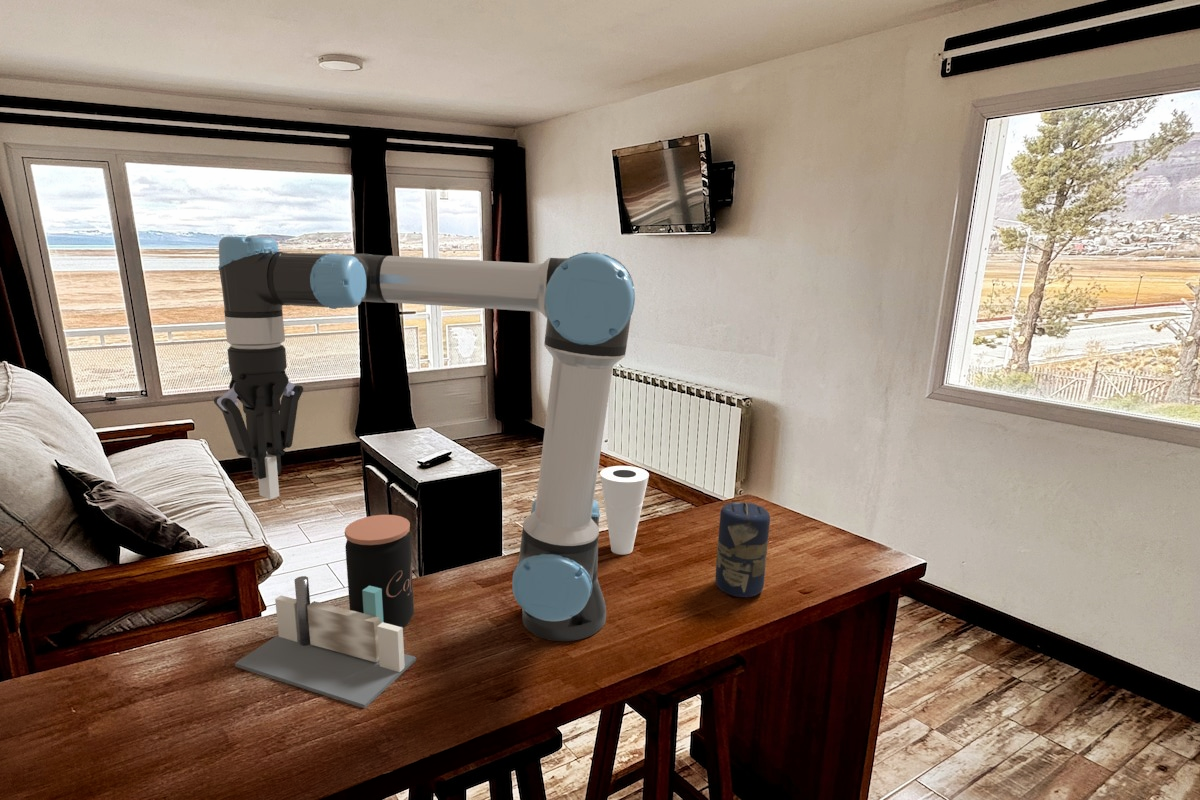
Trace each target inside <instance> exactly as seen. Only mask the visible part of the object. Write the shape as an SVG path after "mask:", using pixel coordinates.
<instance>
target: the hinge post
mask: <svg viewBox="0 0 1200 800" xmlns="http://www.w3.org/2000/svg"><path fill="white" fill-rule="evenodd" d="M294 589H295V599H296V603H297V614H298V625H299V636H300V644H301V645H303V646H306V645H310V634H309V622H308V610H307V606H308V605H309V604H311V596H310V585H309V577H308V576H306V575H304V576H303V575H302V576H298V577H295V579H294Z"/></svg>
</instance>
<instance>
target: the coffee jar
mask: <svg viewBox="0 0 1200 800" xmlns="http://www.w3.org/2000/svg"><path fill="white" fill-rule="evenodd" d="M410 527H411V523H410V521H409V520H408V519H407V518H405V517H403V516H400V515H395V514H377V515H370V516H364V517H362V518H359V519H355V521H352V522H351V523H349V524H348V525H347V526H346V527H345V530H344V537H345V538H346V543H345V560H346V561H345V562H346V563H345V564H346V575H347V586H348V587H347V589H348V591H347V592H348V603H349V605H348V606H349V610H352V611H356V612H360V613H364V609H363V594H362V590H364V589H365V588H366V587H368V586H373V587H377V588H381V589H382V604H383V622H384V623H387V624H391V625H395V626H399V627H402V628H403V629H404V628H405V627H406V626H408V624H409V622H410V621H411V619H412V618H413V616H414V614H415V612H414V611H415V606H414V603H415V602H414V585H413V584H414V583H413V581H414V580H413V560H412V558H413V557H412V540H411V539H412V538H411V537H412V536H411V534H410V533H409V532H410V530H411V529H410Z"/></svg>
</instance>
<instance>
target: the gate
mask: <svg viewBox="0 0 1200 800" xmlns="http://www.w3.org/2000/svg"><path fill="white" fill-rule="evenodd" d="M307 610H308V622H309V634H310V644H311V645H315V646H318V647H322V648H325V649H329V650H333V651H336V652H340V653H344V654H347V655H351V656H354V657H358V658H362V659H365V660H369V661H373V662H378V661H379V647H378V630H377V626H378V625H380V624H381V621H380V617H376V616H372V615H368V614H364V613H360V612H356V611H352V610H350V609H349V608H344V607H343V608H342V607H338V606H336V605H335V606H334V605H330V604H327V603H323V602H319V601H312V602H310V604H309V605H308V606H307Z"/></svg>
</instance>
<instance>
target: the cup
mask: <svg viewBox="0 0 1200 800" xmlns="http://www.w3.org/2000/svg"><path fill="white" fill-rule="evenodd" d="M599 475H600V481H601V482H600V483H601V490H602V496H603V499H604V500H603V501H604V502H603V503H604V508H605V509H604V510H605V515H606V522H607V523H606V524H607V529H608V536H609V543H610V551H611V552H612V553H613V554H616V555H620V556H623V555H629V554H631V553H632V552H633V550H634V545H635V540H636V535H637V531H638V526H639V523H640V518H641V513H642V508H643V505H644V499H645V495H646V490H647V486H648V482H649V477H650V473H649V472H648V471H647V470H645V469H644V468H641V467H637V466H632V465H631V466H630V465H615V466H607V467H606V468H603V469H601V470H600V472H599Z"/></svg>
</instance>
